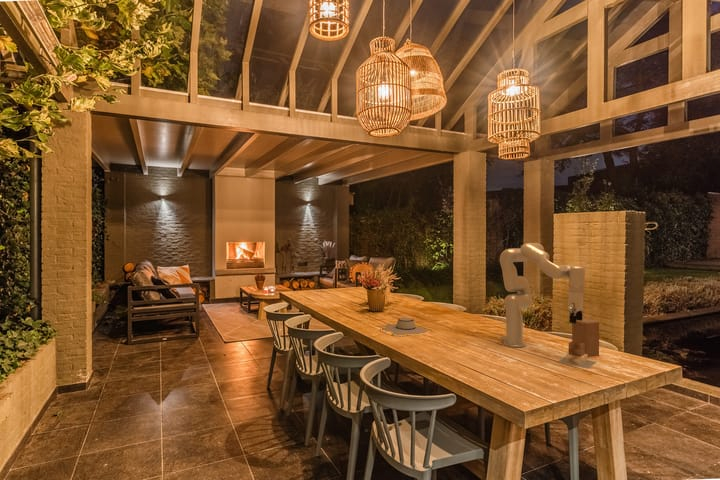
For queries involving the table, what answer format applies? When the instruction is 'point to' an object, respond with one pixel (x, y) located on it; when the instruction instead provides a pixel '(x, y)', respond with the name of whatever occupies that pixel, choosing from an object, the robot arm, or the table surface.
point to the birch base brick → (577, 359)
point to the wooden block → (587, 335)
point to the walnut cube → (576, 348)
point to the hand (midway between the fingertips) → (575, 321)
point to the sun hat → (404, 327)
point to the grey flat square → (586, 365)
